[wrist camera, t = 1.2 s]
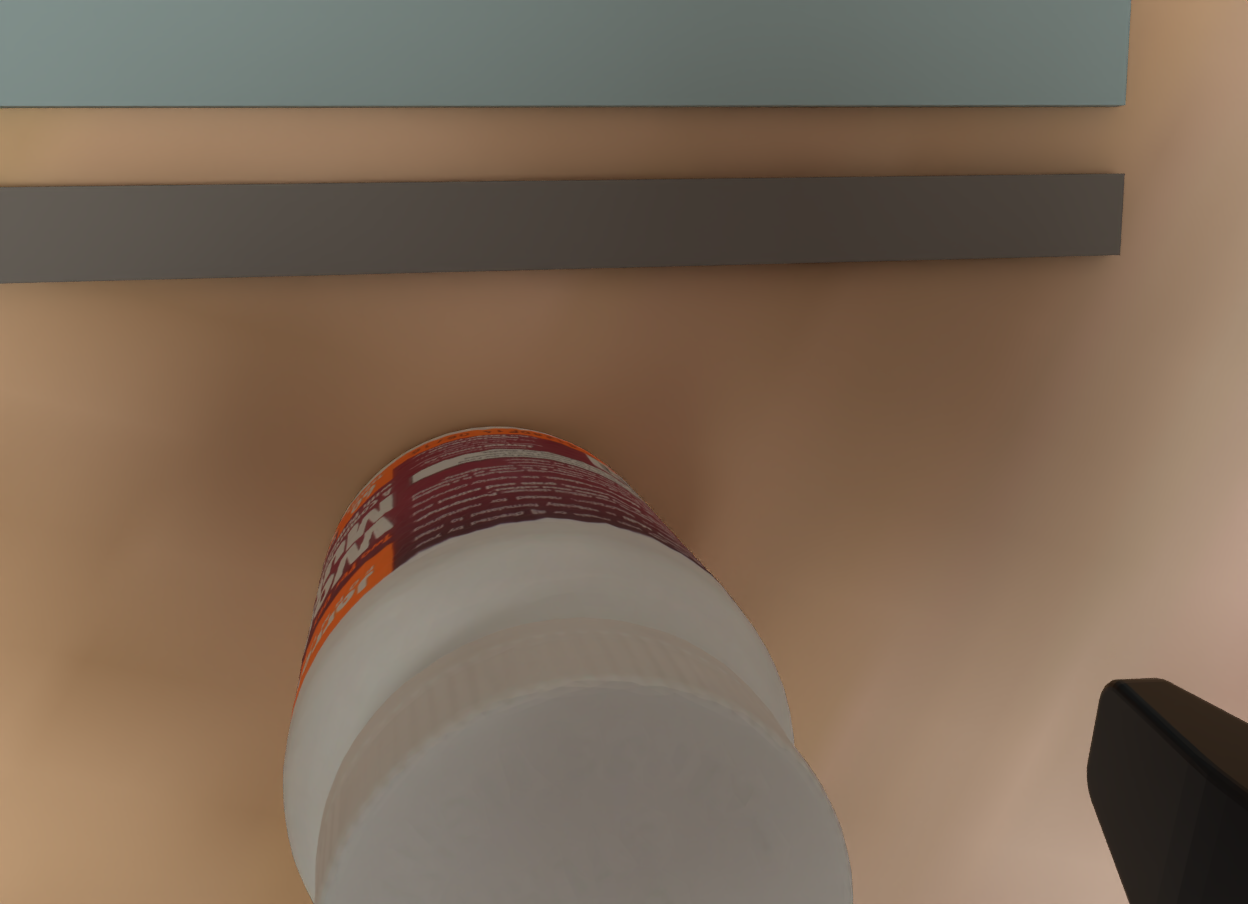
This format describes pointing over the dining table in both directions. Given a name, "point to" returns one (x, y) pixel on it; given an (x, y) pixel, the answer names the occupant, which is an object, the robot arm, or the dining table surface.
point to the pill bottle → (540, 702)
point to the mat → (562, 53)
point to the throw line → (545, 225)
